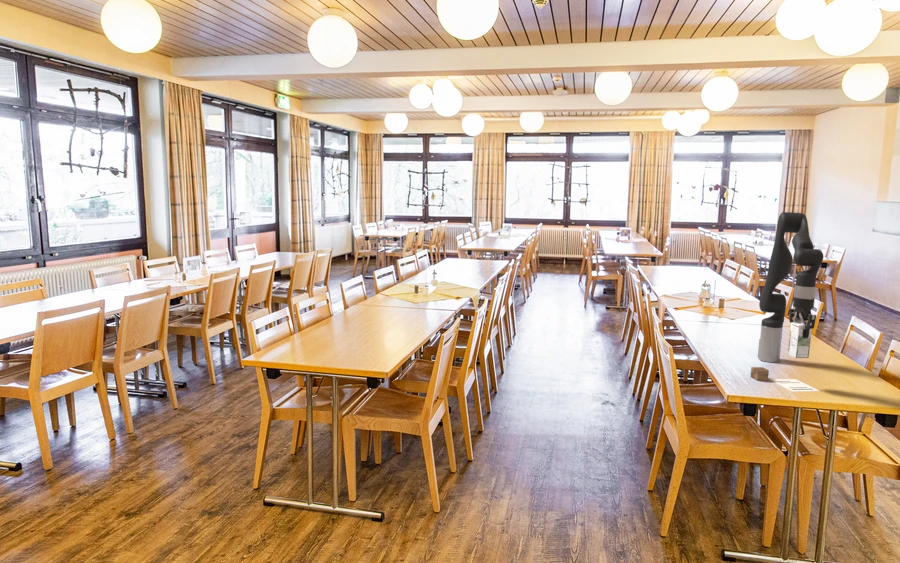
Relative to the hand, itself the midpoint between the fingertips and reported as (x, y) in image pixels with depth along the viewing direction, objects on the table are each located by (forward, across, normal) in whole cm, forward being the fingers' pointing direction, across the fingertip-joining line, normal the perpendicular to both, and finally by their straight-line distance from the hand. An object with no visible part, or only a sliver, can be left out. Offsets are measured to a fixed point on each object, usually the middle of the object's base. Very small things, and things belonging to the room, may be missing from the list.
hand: (800, 335), depth 246 cm
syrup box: (+9, 0, 0) cm, 9 cm away
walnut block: (+22, -10, -10) cm, 26 cm away
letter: (+22, -1, 0) cm, 22 cm away
